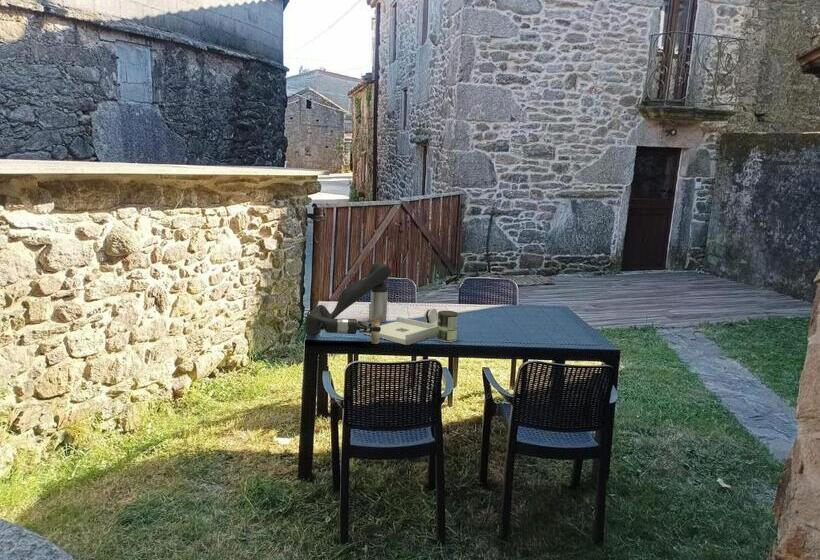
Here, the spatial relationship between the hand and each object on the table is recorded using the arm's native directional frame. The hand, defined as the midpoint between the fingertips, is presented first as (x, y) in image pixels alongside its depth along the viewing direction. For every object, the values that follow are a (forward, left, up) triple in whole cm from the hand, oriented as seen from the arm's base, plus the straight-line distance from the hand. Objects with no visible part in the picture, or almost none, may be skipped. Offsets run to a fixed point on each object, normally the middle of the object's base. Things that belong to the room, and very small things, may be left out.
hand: (379, 327), depth 312 cm
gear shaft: (-2, -1, -8) cm, 8 cm away
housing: (-2, +21, -8) cm, 22 cm away
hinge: (-3, +50, -8) cm, 51 cm away
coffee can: (+20, +30, -8) cm, 37 cm away
